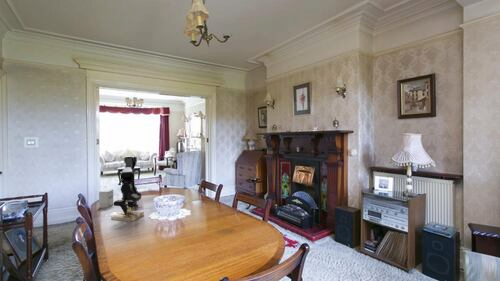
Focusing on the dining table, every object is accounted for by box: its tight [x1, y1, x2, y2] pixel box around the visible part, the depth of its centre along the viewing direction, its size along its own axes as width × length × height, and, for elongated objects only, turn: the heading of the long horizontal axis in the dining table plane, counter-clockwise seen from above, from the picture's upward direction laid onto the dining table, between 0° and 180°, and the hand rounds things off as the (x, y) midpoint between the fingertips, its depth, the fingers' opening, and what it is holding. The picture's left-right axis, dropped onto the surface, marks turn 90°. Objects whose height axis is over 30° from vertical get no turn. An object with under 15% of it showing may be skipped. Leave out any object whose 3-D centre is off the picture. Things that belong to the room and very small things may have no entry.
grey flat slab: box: [104, 211, 122, 217], centre depth 171 cm, size 9×7×1 cm
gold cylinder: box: [125, 206, 131, 216], centre depth 166 cm, size 4×4×5 cm
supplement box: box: [98, 189, 114, 209], centre depth 194 cm, size 7×7×13 cm
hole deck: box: [110, 210, 145, 223], centre depth 166 cm, size 14×14×3 cm
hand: (128, 212), depth 166 cm, fingers closed on gold cylinder, 4 cm apart
